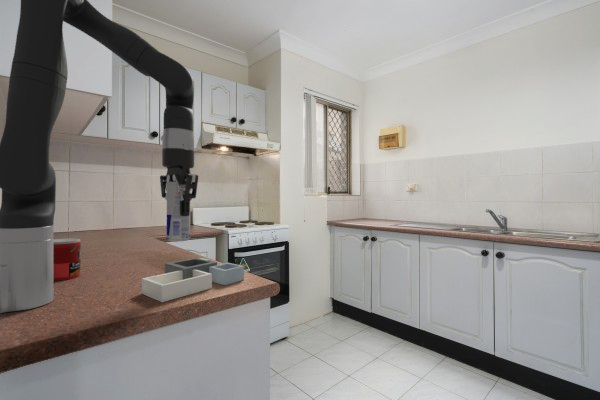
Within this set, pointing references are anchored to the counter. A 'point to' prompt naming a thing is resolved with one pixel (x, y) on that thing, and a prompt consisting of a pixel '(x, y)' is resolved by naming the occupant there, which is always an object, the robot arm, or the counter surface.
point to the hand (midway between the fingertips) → (178, 215)
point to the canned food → (66, 258)
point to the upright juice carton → (176, 216)
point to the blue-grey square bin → (227, 273)
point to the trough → (175, 285)
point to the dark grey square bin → (189, 266)
